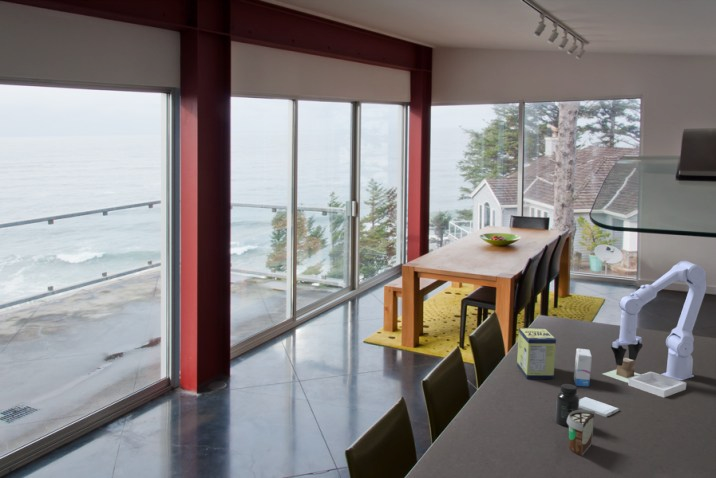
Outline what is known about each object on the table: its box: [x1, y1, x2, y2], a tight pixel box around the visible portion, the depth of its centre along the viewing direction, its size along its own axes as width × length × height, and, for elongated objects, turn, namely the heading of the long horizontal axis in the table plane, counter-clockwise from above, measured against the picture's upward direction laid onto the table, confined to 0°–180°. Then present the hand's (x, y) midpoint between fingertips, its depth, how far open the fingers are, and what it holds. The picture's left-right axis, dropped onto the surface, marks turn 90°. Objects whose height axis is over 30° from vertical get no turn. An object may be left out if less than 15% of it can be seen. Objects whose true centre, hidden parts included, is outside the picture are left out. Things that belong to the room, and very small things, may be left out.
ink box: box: [573, 347, 593, 388], centre depth 261 cm, size 9×5×12 cm, turn 168°
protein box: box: [516, 327, 557, 380], centre depth 271 cm, size 10×16×16 cm
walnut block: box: [616, 357, 636, 378], centre depth 268 cm, size 4×4×6 cm
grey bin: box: [627, 371, 687, 398], centre depth 257 cm, size 14×14×3 cm
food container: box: [567, 409, 596, 456], centre depth 208 cm, size 12×6×10 cm, turn 145°
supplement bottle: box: [555, 383, 580, 427], centre depth 225 cm, size 7×7×12 cm
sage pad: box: [602, 368, 642, 384], centre depth 269 cm, size 12×11×1 cm
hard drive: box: [579, 396, 620, 418], centre depth 238 cm, size 2×8×12 cm
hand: (625, 363), depth 268 cm, fingers open, 7 cm apart
